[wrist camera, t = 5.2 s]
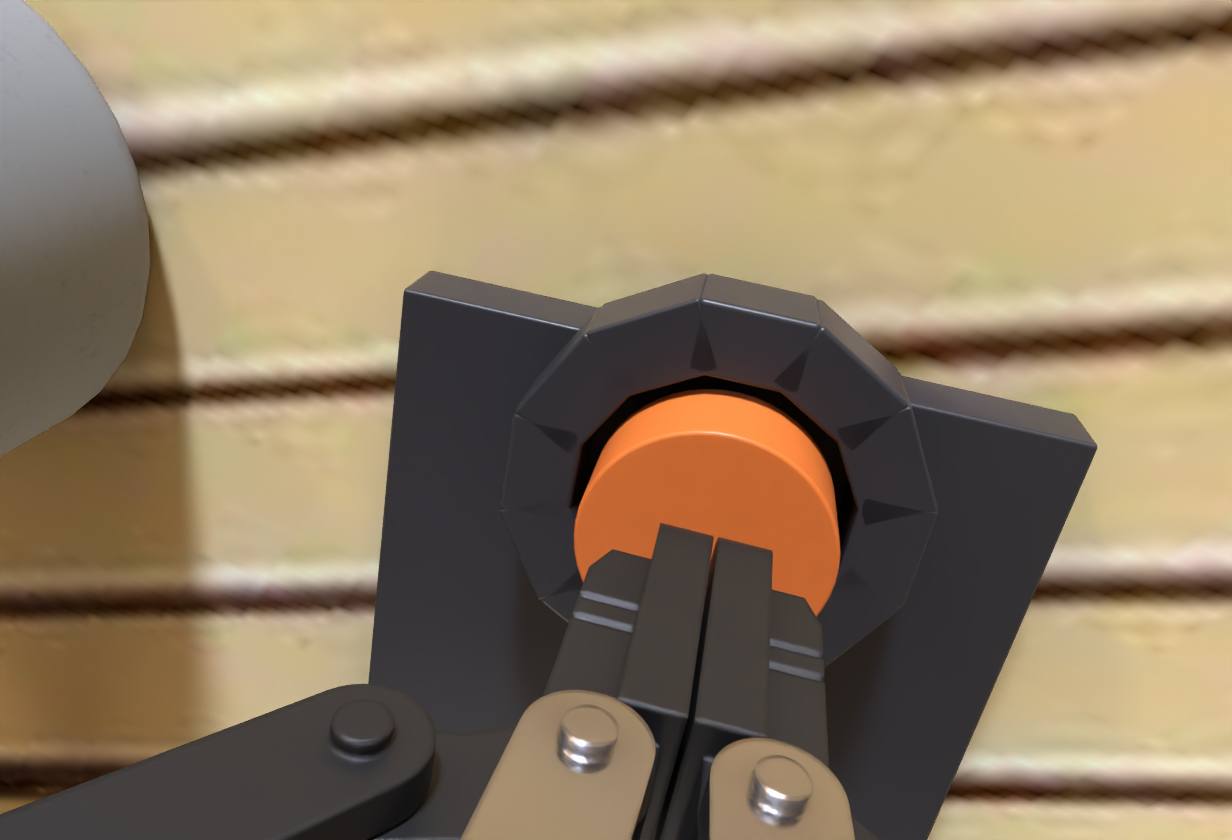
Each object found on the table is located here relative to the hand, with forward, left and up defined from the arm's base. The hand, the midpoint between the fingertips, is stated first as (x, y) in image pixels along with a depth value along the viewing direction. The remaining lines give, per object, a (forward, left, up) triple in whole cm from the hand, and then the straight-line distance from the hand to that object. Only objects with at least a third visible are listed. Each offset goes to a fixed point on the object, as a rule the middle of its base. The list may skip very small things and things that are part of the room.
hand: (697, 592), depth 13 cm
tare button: (0, 0, -3) cm, 3 cm away
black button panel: (+6, 0, -6) cm, 8 cm away
